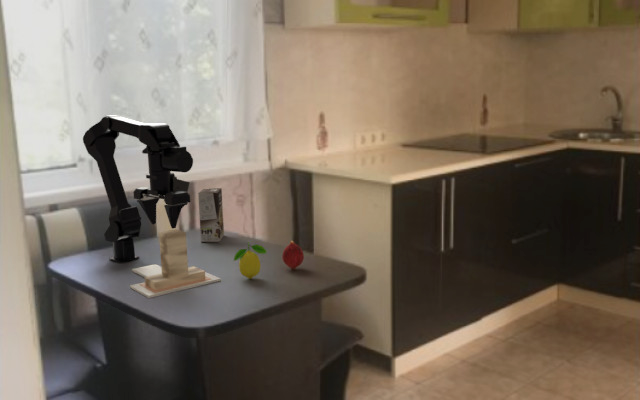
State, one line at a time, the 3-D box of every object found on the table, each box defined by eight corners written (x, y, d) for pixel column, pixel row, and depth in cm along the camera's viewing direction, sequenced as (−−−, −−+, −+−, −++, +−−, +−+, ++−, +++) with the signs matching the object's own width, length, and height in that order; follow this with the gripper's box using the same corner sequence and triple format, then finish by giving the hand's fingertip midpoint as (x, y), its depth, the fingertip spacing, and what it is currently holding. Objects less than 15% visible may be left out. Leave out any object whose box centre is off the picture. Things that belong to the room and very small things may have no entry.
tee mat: (109, 275, 182) (108, 273, 181) (176, 261, 194) (176, 259, 194) (148, 298, 162) (148, 295, 162) (220, 280, 175) (220, 278, 174)
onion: (308, 268, 183) (307, 240, 182) (293, 273, 179) (292, 244, 177) (293, 265, 187) (292, 237, 186) (278, 269, 183) (277, 241, 181)
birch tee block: (145, 284, 171) (141, 235, 168) (194, 273, 179) (191, 226, 177) (155, 290, 166) (151, 239, 164) (205, 278, 175) (202, 229, 172)
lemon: (267, 277, 176) (266, 240, 174) (254, 283, 171) (253, 245, 169) (247, 274, 180) (245, 238, 178) (233, 280, 175) (231, 243, 173)
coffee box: (220, 241, 216) (217, 192, 213) (200, 242, 216) (197, 193, 213) (224, 235, 225) (222, 187, 222) (205, 235, 225) (202, 188, 222)
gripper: (204, 169, 183) (208, 225, 185) (163, 164, 195) (167, 217, 198) (171, 174, 174) (175, 232, 177) (130, 169, 187) (134, 224, 189)
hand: (163, 226), depth 186 cm, fingers open, 9 cm apart
